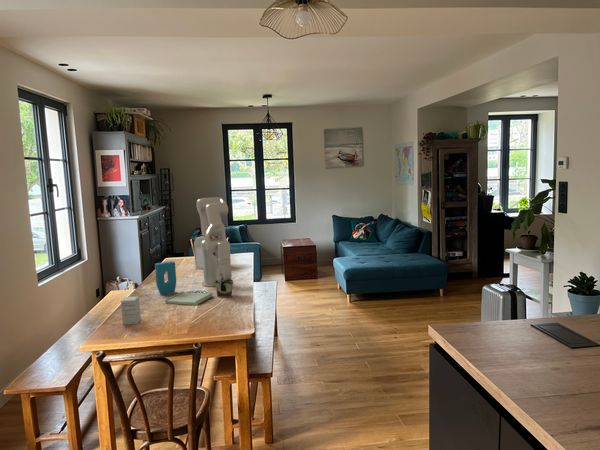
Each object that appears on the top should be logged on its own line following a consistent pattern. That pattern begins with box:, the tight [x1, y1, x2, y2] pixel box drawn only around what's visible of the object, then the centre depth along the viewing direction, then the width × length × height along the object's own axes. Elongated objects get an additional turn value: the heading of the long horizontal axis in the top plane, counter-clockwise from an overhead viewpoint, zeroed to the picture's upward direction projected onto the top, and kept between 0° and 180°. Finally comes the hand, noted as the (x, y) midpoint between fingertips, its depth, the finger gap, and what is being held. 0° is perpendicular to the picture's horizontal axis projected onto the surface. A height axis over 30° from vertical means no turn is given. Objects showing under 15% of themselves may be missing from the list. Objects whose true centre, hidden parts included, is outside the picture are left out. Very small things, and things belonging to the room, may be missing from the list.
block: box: [154, 261, 177, 296], centre depth 284 cm, size 12×5×20 cm, turn 123°
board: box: [164, 291, 213, 306], centre depth 268 cm, size 19×21×2 cm
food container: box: [215, 278, 235, 298], centre depth 273 cm, size 12×6×10 cm, turn 72°
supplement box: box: [120, 295, 141, 325], centre depth 229 cm, size 7×7×13 cm
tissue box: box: [193, 235, 219, 271], centre depth 360 cm, size 16×18×27 cm
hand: (226, 289), depth 273 cm, fingers closed on food container, 6 cm apart
